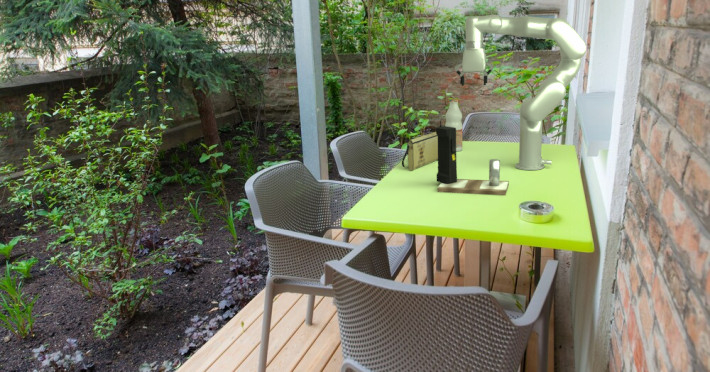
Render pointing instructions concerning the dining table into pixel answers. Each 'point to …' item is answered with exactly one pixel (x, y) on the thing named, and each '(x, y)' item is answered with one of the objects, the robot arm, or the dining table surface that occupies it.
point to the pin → (494, 172)
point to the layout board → (474, 187)
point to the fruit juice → (455, 121)
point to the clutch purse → (421, 151)
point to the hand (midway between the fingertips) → (473, 85)
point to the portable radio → (446, 155)
